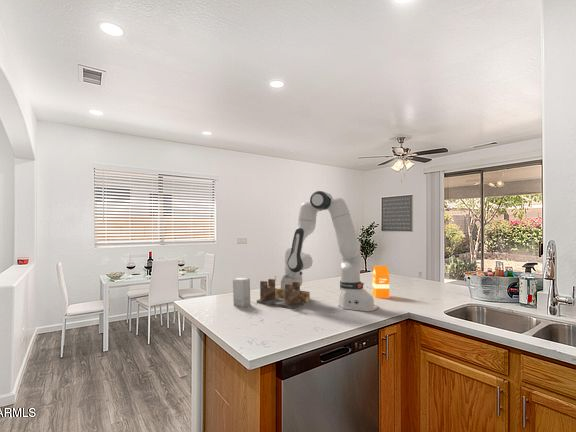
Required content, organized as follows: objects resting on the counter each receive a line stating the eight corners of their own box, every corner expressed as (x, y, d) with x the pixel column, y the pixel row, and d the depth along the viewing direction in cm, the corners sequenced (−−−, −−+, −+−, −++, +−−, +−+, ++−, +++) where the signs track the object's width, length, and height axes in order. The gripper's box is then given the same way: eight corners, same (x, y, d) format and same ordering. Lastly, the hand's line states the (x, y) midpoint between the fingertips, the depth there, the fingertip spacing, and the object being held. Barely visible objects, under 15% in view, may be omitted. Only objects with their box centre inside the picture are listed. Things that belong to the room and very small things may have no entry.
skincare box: (250, 304, 187) (250, 278, 187) (243, 307, 181) (243, 280, 181) (239, 302, 191) (239, 277, 192) (232, 305, 186) (232, 278, 186)
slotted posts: (303, 304, 187) (303, 282, 187) (292, 309, 177) (292, 285, 177) (268, 298, 202) (268, 278, 202) (256, 302, 192) (256, 281, 192)
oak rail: (309, 301, 195) (309, 291, 195) (306, 302, 192) (306, 293, 192) (278, 296, 209) (278, 287, 209) (274, 297, 205) (274, 288, 205)
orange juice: (389, 297, 203) (389, 266, 204) (375, 297, 203) (375, 266, 204) (385, 295, 211) (385, 264, 211) (372, 295, 211) (372, 264, 211)
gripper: (286, 276, 190) (286, 299, 190) (303, 271, 207) (304, 293, 207) (278, 275, 194) (278, 298, 193) (295, 271, 211) (295, 291, 210)
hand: (291, 295), depth 200 cm, fingers open, 8 cm apart
